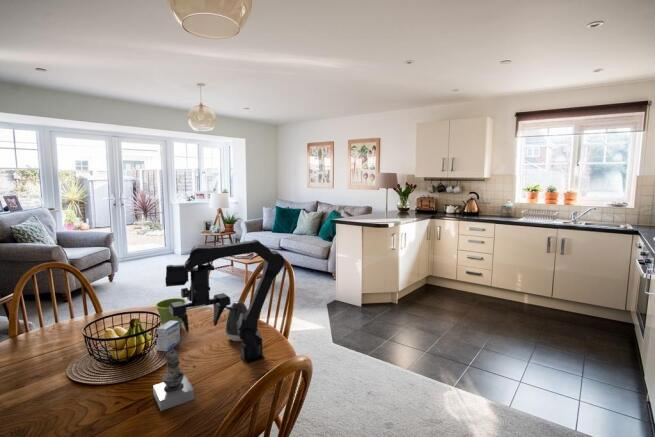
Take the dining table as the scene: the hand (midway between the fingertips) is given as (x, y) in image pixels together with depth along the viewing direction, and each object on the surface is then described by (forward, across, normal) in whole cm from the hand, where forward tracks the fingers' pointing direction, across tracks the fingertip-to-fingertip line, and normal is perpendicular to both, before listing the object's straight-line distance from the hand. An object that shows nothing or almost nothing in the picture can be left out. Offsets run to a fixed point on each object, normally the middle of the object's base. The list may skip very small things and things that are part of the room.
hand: (201, 328), depth 121 cm
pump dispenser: (+13, -18, -12) cm, 25 cm away
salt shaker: (+10, +12, +13) cm, 21 cm away
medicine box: (+13, +6, -21) cm, 26 cm away
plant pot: (+13, +1, -37) cm, 39 cm away
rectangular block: (+13, +12, +13) cm, 22 cm away
